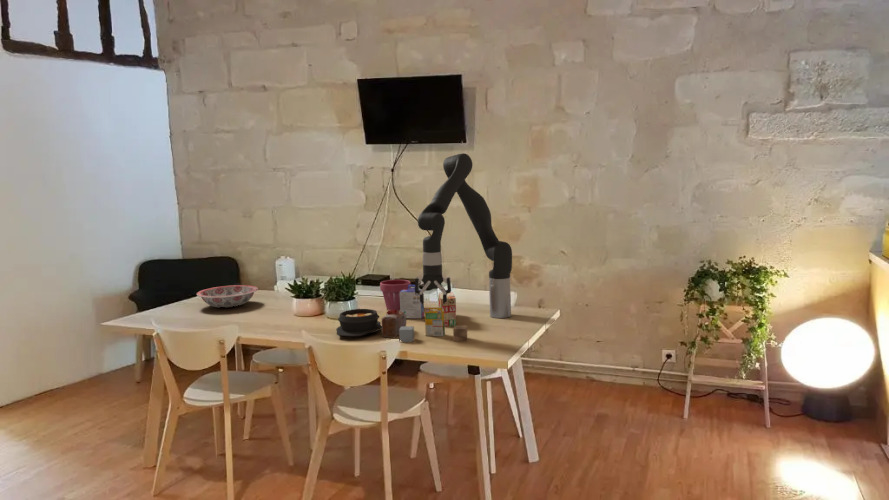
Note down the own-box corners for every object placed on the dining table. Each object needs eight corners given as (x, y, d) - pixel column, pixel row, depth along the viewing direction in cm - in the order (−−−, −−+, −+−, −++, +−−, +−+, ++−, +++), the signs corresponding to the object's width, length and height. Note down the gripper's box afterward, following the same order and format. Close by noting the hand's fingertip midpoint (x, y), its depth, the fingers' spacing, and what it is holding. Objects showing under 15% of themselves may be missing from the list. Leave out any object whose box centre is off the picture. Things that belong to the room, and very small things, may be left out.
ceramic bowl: (234, 298, 363) (233, 283, 362) (271, 303, 346) (270, 288, 345) (185, 309, 340) (184, 293, 339) (222, 315, 323) (221, 299, 322)
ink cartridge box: (424, 316, 308) (423, 284, 306) (422, 318, 303) (420, 286, 301) (403, 315, 310) (402, 284, 308) (400, 318, 305) (398, 286, 303)
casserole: (369, 341, 269) (368, 320, 268) (325, 339, 274) (324, 319, 273) (390, 325, 293) (389, 306, 292) (349, 324, 298) (348, 305, 296)
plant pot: (414, 305, 331) (413, 279, 329) (407, 312, 317) (406, 284, 315) (385, 305, 333) (384, 279, 331) (377, 311, 319) (376, 284, 318)
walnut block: (467, 338, 269) (466, 325, 268) (466, 341, 264) (466, 328, 264) (454, 338, 270) (454, 325, 269) (453, 341, 265) (453, 329, 264)
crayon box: (445, 334, 275) (444, 306, 274) (443, 336, 273) (442, 307, 271) (427, 334, 277) (426, 305, 275) (425, 336, 274) (424, 307, 272)
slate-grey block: (414, 338, 271) (413, 326, 270) (412, 342, 266) (412, 329, 265) (401, 338, 271) (401, 326, 271) (399, 342, 266) (399, 329, 266)
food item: (389, 329, 287) (388, 306, 286) (407, 329, 286) (406, 306, 285) (380, 337, 274) (379, 313, 273) (399, 338, 273) (398, 313, 271)
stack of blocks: (438, 315, 309) (437, 288, 307) (452, 314, 309) (451, 287, 308) (441, 327, 288) (440, 298, 286) (456, 326, 288) (455, 297, 286)
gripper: (451, 261, 274) (452, 301, 276) (415, 261, 275) (416, 301, 277) (449, 264, 267) (450, 305, 269) (413, 264, 268) (414, 305, 270)
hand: (433, 303), depth 273 cm, fingers open, 8 cm apart
